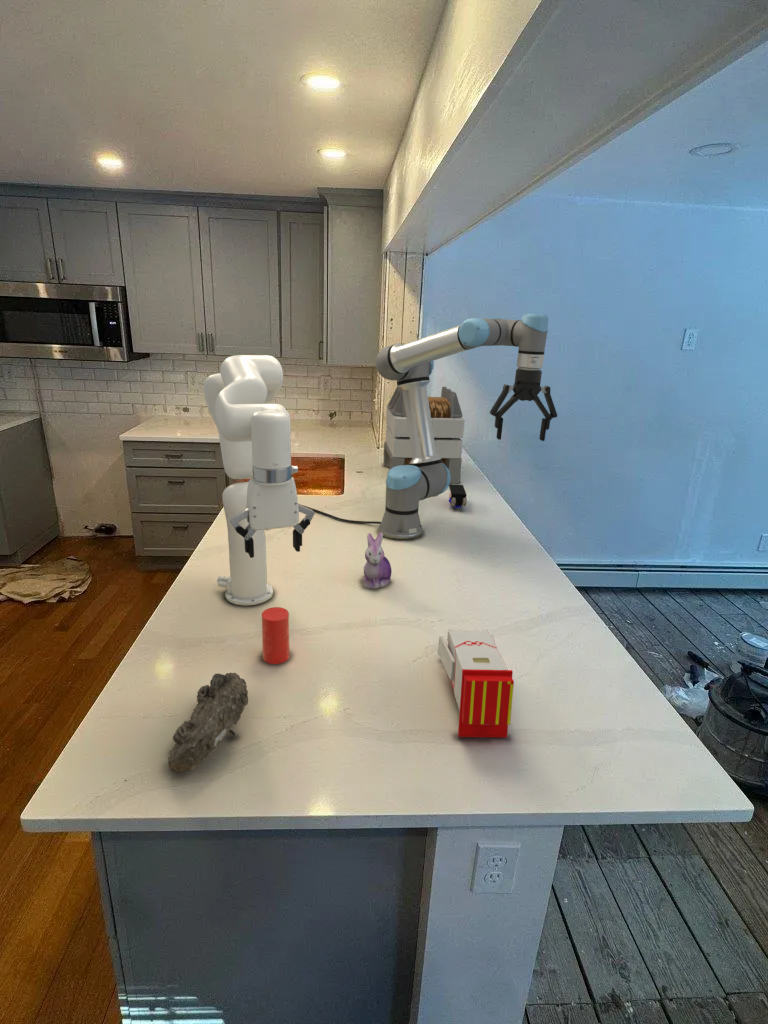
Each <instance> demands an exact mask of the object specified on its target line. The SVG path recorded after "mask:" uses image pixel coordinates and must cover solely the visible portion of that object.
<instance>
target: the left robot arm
mask: <svg viewBox="0 0 768 1024" xmlns="http://www.w3.org/2000/svg"><path fill="white" fill-rule="evenodd" d="M203 383H204V384H203V394H204V399H205V404H206V406H207V409H208V412H209V414H210V416H211V418H212V420H213V422H214V424H215V426H216V429H217V433H218V438H219V445H220V453H221V459H222V465H223V469H224V473H225V475H226V476H227V477H228V478H230V479H233V480H248V481H245V482H243V481H242V482H236V483H232V484H230V485H228V486H226V487H225V488H224V490H223V491H222V498H221V499H222V506H223V511H224V516H225V521H226V527H227V539H228V540H227V542H228V557H229V575H230V576H223V575H218V576H217V578H216V580H217V587H219V588H225V589H226V590H225V593H224V596H225V599H226V600H227V601H228V603H229V602H230V603H231V604H233V605H236V606H237V605H238V606H257V605H260V604H263V603H265V602H267V601H269V600H270V599H271V598H272V597H273V595H274V588H273V587H272V585H271V584H270V583H268V571H267V569H268V568H267V537H266V532H265V530H275V529H283V528H285V529H286V528H291V527H292V528H293V530H292V548H293V549H294V551H295V552H296V553H299V552H301V547H302V546H303V534H304V533H305V530H306V529H307V528H308V527H309V526H310V525H311V521H312V520H313V518H314V516H315V514H316V513H315V511H313V510H312V509H309V508H307V507H308V506H307V507H304V506H305V505H304V506H302V505H303V504H300V503H299V500H298V493H297V486H296V481H295V478H294V477H293V475H294V474H297V473H299V467H298V465H292V442H291V441H292V437H291V436H292V435H291V432H292V431H291V428H292V427H291V416H290V413H289V411H287V409H286V407H285V406H284V405H282V404H280V403H273V402H274V400H275V399H276V396H277V395H278V394H279V392H280V390H281V388H282V386H283V383H284V371H283V367H282V365H281V362H280V361H279V360H278V359H277V358H276V357H275V356H273V355H268V354H266V355H265V354H236V355H230V356H228V357H227V358H226V359H224V360H223V361H222V363H221V365H220V371H219V373H214V374H211V375H208V377H206V378H205V379H204V382H203ZM299 504H300V505H299ZM300 513H301V514H304V517H303V518H302V520H300ZM299 521H300V522H299Z"/></svg>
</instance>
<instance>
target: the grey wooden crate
mask: <svg viewBox="0 0 768 1024" xmlns="http://www.w3.org/2000/svg"><path fill="white" fill-rule="evenodd" d="M440 393H441V394H440V396H428V402H429V408H430V415H431V422H432V428H433V435H434V441H435V448H436V454H437V455H438V456H440V457H441V459H442V463H443V464H445V465H446V467H447V468H448V469H449V472H450V476H451V479H450V484H459V483H461V472H462V461H463V460H462V453H463V442H464V441H463V440H462V439H463V438H464V431H465V430H464V429H465V419H464V418H463V411H462V408H461V405H460V402H459V398H458V395H457V392H455V391H453V390H452V389H451V388H447V386H442V387H441V392H440ZM385 414H386V415H385V423H386V428H385V438H384V442H383V466H384V467H388V468H389V470H390V469H391V468H393V467H396V466H400V465H403V466H404V465H410V461H411V460H412V458H413V455H412V449H411V443H410V436H409V430H408V423H407V417H406V411H405V404H404V398H403V392H402V390H401V389H399V388H398V387H397V386H396V388H395V390H394V392H393V394H392V395H391V398H390V400H389V402H388V404H387V405H386V413H385Z"/></svg>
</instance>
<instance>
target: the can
mask: <svg viewBox="0 0 768 1024" xmlns="http://www.w3.org/2000/svg"><path fill="white" fill-rule="evenodd" d="M261 636H262V637H261V638H262V641H261V642H262V659H263V661H264V662H266V663H268V664H271V665H278V664H279V665H280V664H283V663H285V662H287V661H288V660H289V658H290V612H289V611H288V609H286V608H284V607H280V606H274V607H269V608H266V609H264V610H263V611H262V612H261Z"/></svg>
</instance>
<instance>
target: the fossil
mask: <svg viewBox="0 0 768 1024" xmlns="http://www.w3.org/2000/svg"><path fill="white" fill-rule="evenodd" d="M247 688H248V686H247V682H246V680H245V679H244V678H242V677H240V674H237V672H229V673H228V672H226V673H225V674H222V673H219V672H218V673H214V674H213V675H212V678H211V679H210V681H209V684H206V685H203V686H200V687H199V688H198V690H197V693H196V694H197V695H196V702H197V703H196V705H195V706H194V708H193V712H191V715H190V717H189V719H190V720H189V721H188V720H185V721H183V722H182V724H181V725H179V726H178V727H177V728H176V730H175V732H174V734H173V735H172V741H173V742H174V743H175V744H174V745H173V747H172V748H171V750H169V752H168V757H167V760H168V761H167V765H168V767H169V769H170V770H173V771H175V773H180V772H181V773H182V772H184V771H190V770H191V771H194V770H196V769H197V768H198V767H199V766H200V765H201V764H202V763H203V762H204V761H205V760H207V758H208V757H209V756H210V755H211V754H212V753H213V752H214V751H215V750H216V749H217V748H218V747H220V745H221V744H222V742H223V739H225V738H226V737H227V736H228V734H231V735H232V736H233V737H235V736H237V735H236V732H235V731H233V729H232V727H233V726H234V725H237V723H239V721H240V720H241V717H242V715H243V713H244V711H245V707H246V706H247V705H248V703H249V696H248V695H249V691H248V690H247Z"/></svg>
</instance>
